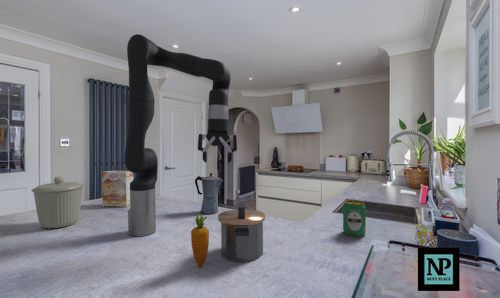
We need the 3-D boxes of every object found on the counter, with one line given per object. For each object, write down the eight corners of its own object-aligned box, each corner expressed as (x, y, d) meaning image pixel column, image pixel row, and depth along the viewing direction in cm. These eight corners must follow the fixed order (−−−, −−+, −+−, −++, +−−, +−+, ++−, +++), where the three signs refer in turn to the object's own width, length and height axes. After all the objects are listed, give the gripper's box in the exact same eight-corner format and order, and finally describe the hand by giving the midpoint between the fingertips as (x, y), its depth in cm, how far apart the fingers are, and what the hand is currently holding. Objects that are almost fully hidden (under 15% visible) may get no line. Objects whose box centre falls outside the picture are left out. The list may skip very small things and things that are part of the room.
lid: (215, 229, 73) (215, 210, 73) (220, 214, 88) (220, 199, 88) (267, 228, 74) (267, 210, 74) (263, 213, 89) (263, 198, 89)
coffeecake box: (102, 206, 142) (101, 171, 141) (111, 203, 149) (110, 170, 148) (126, 207, 139) (125, 172, 139) (134, 204, 146) (133, 170, 146)
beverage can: (343, 235, 95) (343, 203, 95) (343, 228, 103) (343, 199, 102) (366, 238, 93) (366, 205, 92) (364, 231, 100) (364, 200, 100)
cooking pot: (219, 265, 73) (219, 227, 73) (223, 242, 90) (223, 211, 89) (264, 264, 73) (264, 226, 73) (260, 241, 90) (260, 211, 90)
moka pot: (220, 215, 123) (220, 174, 122) (190, 214, 126) (190, 173, 125) (226, 210, 132) (225, 172, 132) (198, 209, 135) (197, 171, 135)
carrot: (192, 263, 74) (192, 212, 74) (209, 262, 75) (209, 212, 74) (190, 272, 69) (189, 217, 69) (208, 271, 70) (208, 216, 69)
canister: (22, 229, 105) (20, 178, 105) (67, 217, 122) (66, 173, 121) (50, 234, 98) (48, 180, 98) (94, 221, 115) (93, 175, 115)
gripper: (196, 117, 89) (195, 163, 90) (237, 118, 89) (236, 164, 90) (200, 118, 97) (199, 161, 97) (237, 119, 97) (237, 162, 97)
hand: (217, 162), depth 94 cm, fingers open, 8 cm apart
